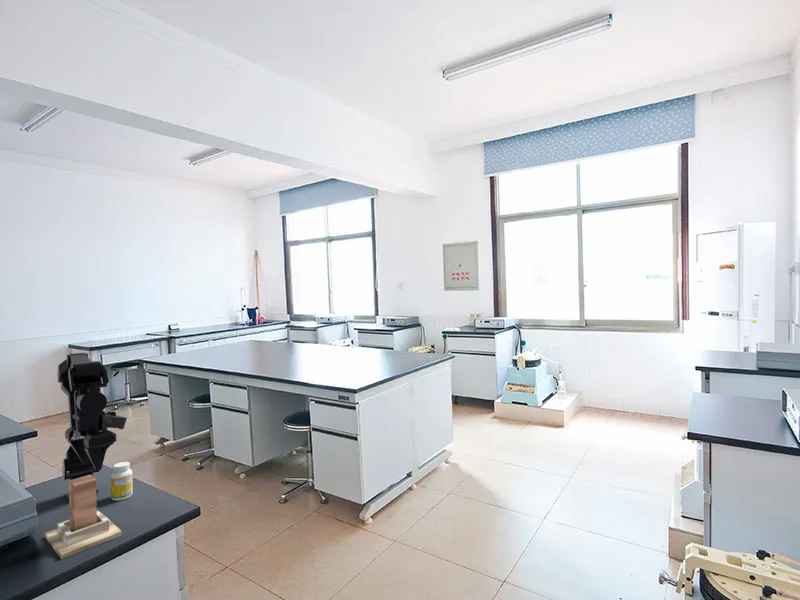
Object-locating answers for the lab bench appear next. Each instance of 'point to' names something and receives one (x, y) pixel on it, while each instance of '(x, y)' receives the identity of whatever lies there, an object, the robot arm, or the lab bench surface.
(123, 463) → the supplement bottle
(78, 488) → the peg
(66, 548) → the socket holder
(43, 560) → the lab bench surface
